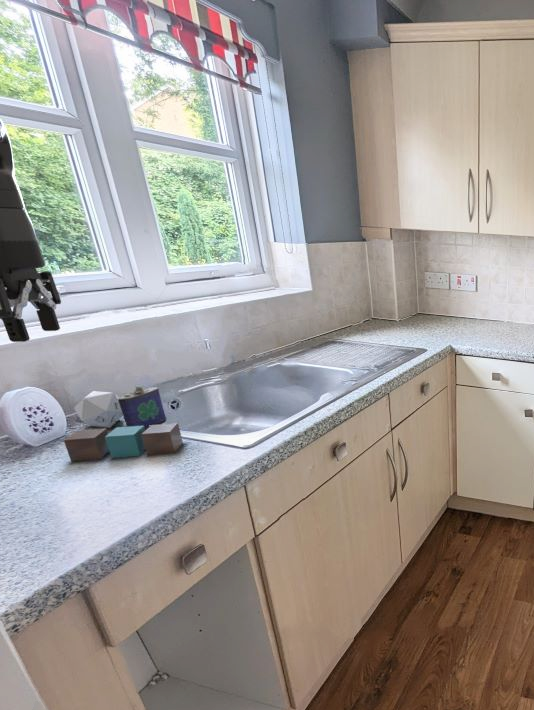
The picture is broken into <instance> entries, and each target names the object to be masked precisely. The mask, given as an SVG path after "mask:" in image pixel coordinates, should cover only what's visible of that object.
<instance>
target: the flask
mask: <svg viewBox="0 0 534 710" xmlns="http://www.w3.org/2000/svg"><path fill="white" fill-rule="evenodd" d="M134 387H135V389H134V391H133V392H129V394H127V393H124V394H123V396H120V397H118V398H119V400H118V401H119V404H120V407H121V410H122V413H123V416H122V417H123V420H124V422H125V425H126V426H125V427H131V426H144V427H145V431H146V430H147V429H148V428H149V427H150V426H149V425H158V424H165V423H166V422H167V417H166V412H165V409H164V406H163V402H162V397H161V394H160V389H159V388H158V387H157V386H156V387H155V386H154V387H153V386H152V387H148V388H146V389H144V388H145V386H144V385H143V386H141V385H134Z"/></svg>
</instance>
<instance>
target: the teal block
mask: <svg viewBox="0 0 534 710" xmlns="http://www.w3.org/2000/svg"><path fill="white" fill-rule="evenodd" d="M144 431H145V427H144V426H131V427H127V426H118V427H115V428H114V429H112V430H111V431H110V432H109V433H108V435H107V436H105V439H106V442H107V446H108V449H109V455H110V458H111V459H116V458H127V457H128V458H129V457H139V456H141V455H142V454H143V453H144V452H146V448H145V445H144V441H143V437H142V433H143V432H144Z"/></svg>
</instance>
